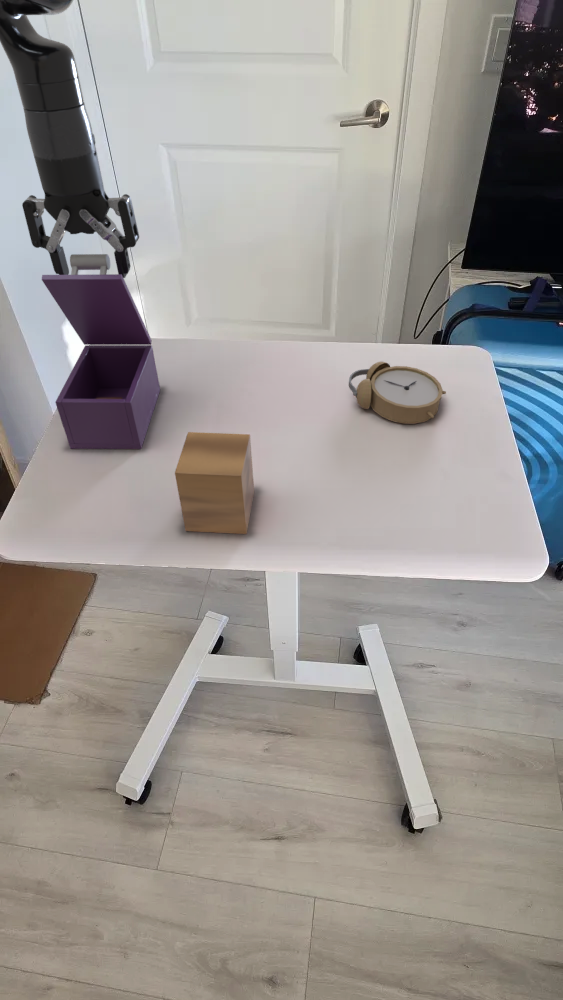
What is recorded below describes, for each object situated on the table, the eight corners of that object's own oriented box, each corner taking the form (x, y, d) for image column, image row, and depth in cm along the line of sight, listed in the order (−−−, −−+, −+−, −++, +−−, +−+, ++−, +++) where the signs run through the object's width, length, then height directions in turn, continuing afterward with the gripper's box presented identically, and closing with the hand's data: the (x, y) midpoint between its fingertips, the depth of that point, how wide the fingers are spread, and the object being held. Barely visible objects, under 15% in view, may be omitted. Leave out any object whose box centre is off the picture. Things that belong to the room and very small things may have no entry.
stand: (246, 534, 80) (241, 475, 73) (185, 531, 81) (174, 472, 74) (254, 492, 86) (250, 434, 79) (197, 489, 87) (187, 431, 80)
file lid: (121, 279, 83) (125, 244, 84) (41, 279, 83) (46, 245, 85) (151, 344, 99) (154, 314, 100) (84, 344, 99) (87, 315, 101)
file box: (141, 449, 93) (130, 402, 88) (70, 448, 94) (54, 402, 88) (160, 390, 105) (152, 345, 99) (96, 389, 105) (85, 345, 100)
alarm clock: (433, 417, 92) (341, 380, 95) (423, 441, 96) (334, 405, 99) (452, 378, 100) (366, 345, 103) (442, 402, 103) (359, 370, 106)
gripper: (-4, 157, 74) (36, 288, 86) (114, 155, 74) (139, 287, 85) (17, 140, 80) (52, 265, 91) (127, 138, 79) (149, 264, 90)
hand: (94, 275), depth 88 cm, fingers open, 8 cm apart
